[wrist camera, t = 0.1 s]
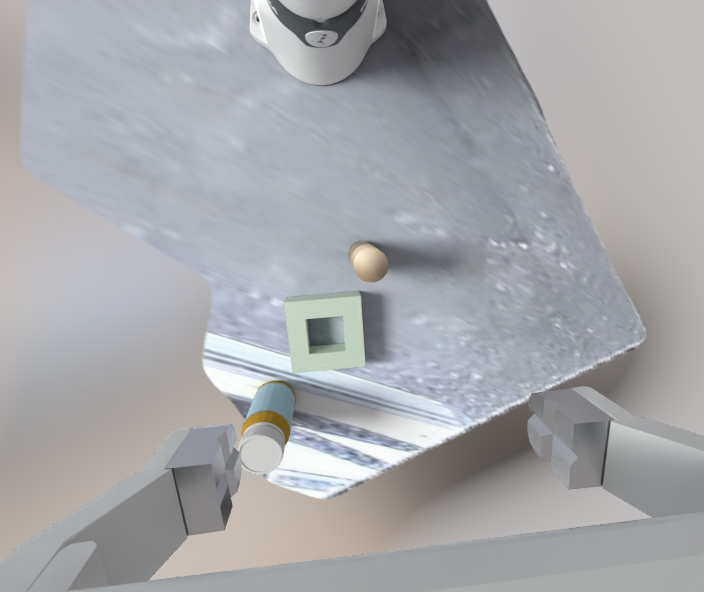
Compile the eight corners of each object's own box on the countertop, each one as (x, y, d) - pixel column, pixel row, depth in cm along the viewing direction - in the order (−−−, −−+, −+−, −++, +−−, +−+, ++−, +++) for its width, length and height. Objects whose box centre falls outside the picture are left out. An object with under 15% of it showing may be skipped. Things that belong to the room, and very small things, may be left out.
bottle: (247, 396, 61) (222, 454, 46) (276, 371, 60) (259, 422, 46) (275, 422, 62) (259, 486, 48) (303, 398, 62) (296, 455, 47)
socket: (286, 297, 57) (283, 302, 54) (358, 290, 58) (360, 295, 54) (294, 364, 60) (292, 373, 57) (363, 357, 61) (365, 366, 57)
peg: (347, 242, 56) (353, 249, 44) (375, 239, 56) (387, 247, 44) (349, 269, 57) (355, 283, 45) (376, 266, 57) (389, 280, 45)
